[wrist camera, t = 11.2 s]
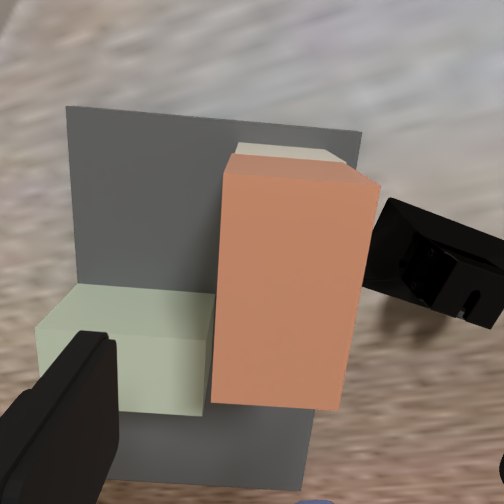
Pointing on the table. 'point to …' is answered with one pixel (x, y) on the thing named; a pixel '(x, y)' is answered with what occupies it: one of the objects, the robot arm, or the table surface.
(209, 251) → the baseplate
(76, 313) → the sage brick
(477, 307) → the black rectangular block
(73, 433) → the robot arm
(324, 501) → the toy pieces
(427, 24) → the table surface
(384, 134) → the table surface
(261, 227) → the terracotta brick
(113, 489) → the table surface
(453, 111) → the table surface
